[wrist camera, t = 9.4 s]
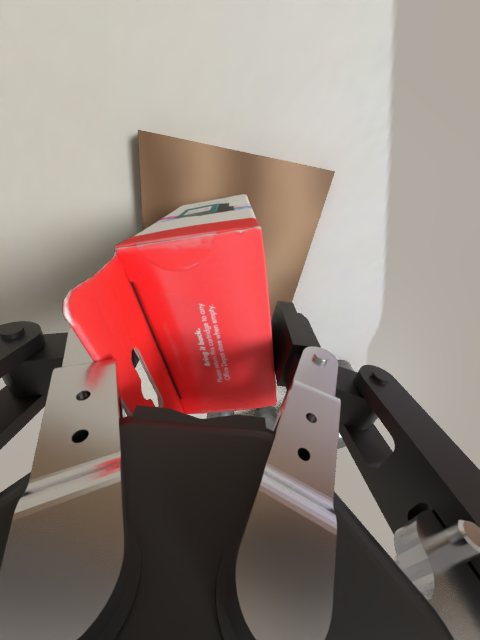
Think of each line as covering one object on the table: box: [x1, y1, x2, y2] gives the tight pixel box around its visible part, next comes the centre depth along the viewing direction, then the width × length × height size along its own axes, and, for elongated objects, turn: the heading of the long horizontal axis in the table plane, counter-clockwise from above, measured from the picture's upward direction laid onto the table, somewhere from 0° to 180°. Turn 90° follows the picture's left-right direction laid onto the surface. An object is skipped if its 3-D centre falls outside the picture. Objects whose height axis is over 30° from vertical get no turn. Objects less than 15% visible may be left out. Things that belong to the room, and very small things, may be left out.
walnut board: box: [138, 130, 335, 320], centre depth 21 cm, size 14×14×1 cm
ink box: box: [62, 194, 277, 416], centre depth 13 cm, size 8×5×15 cm, turn 8°
